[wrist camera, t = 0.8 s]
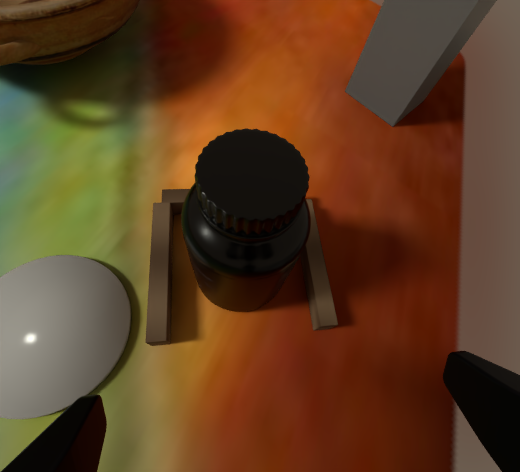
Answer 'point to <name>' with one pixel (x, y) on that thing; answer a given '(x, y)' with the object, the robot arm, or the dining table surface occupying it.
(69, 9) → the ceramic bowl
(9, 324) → the coaster
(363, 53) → the perfume bottle
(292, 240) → the supplement bottle
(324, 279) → the wooden u-shaped frame
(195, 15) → the dining table surface
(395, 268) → the dining table surface
